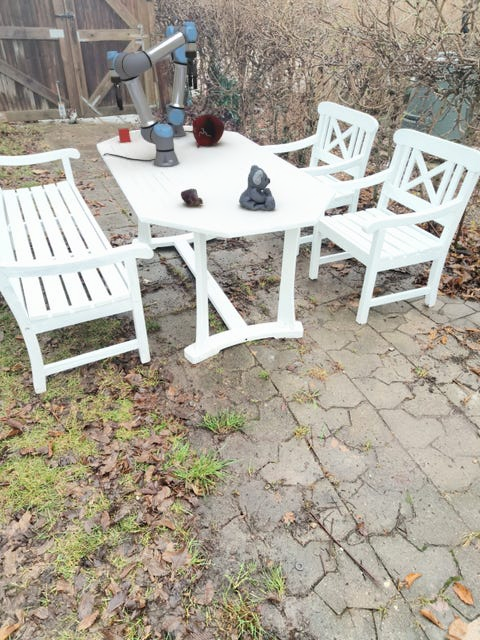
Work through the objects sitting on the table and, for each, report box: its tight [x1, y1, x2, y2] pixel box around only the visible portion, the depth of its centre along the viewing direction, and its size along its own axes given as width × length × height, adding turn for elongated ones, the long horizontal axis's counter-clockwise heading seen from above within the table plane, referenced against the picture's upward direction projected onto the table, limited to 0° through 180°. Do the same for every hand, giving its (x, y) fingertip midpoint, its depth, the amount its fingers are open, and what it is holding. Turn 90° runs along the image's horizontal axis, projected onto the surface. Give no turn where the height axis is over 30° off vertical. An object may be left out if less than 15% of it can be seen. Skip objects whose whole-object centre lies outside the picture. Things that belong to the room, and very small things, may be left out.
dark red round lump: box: [190, 113, 225, 149], centre depth 332 cm, size 21×24×25 cm
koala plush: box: [238, 164, 276, 211], centre depth 224 cm, size 17×18×20 cm
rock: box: [180, 188, 204, 207], centre depth 229 cm, size 12×9×10 cm
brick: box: [117, 127, 132, 144], centre depth 343 cm, size 5×8×9 cm, turn 109°
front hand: (192, 88), depth 298 cm, fingers open, 13 cm apart
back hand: (120, 108), depth 333 cm, fingers open, 13 cm apart
